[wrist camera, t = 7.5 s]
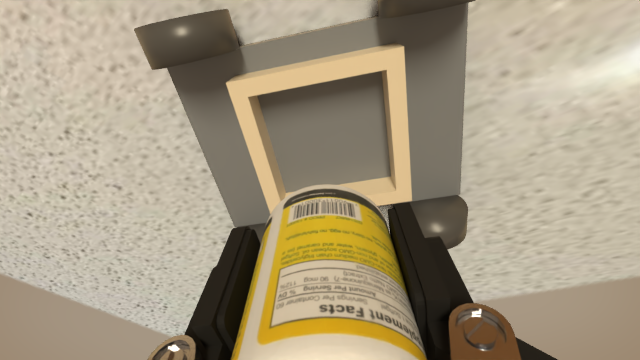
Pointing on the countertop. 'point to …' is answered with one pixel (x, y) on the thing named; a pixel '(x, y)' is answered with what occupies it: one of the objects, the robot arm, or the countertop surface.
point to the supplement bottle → (327, 284)
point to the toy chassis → (328, 108)
